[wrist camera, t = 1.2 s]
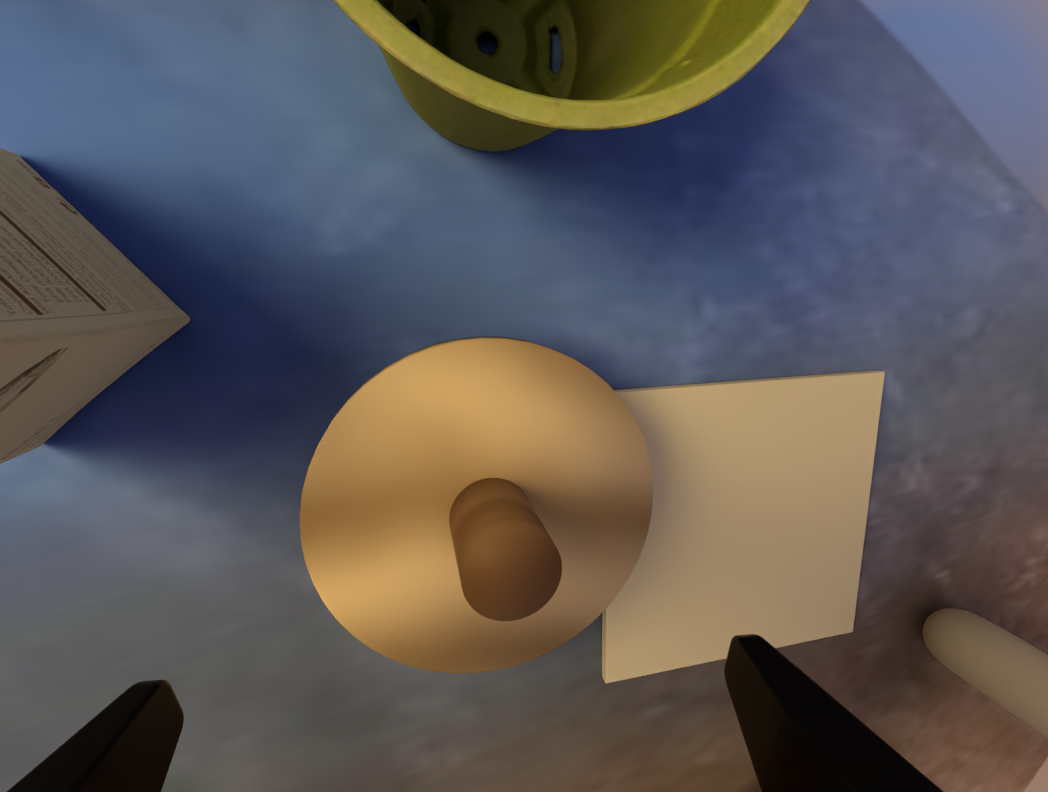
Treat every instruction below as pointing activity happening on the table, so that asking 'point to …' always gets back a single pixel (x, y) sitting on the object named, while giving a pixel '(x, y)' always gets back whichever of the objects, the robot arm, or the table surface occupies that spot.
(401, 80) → the plant pot
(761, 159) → the table surface
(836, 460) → the mat
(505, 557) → the lid
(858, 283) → the table surface
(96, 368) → the supplement box
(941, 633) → the donut
